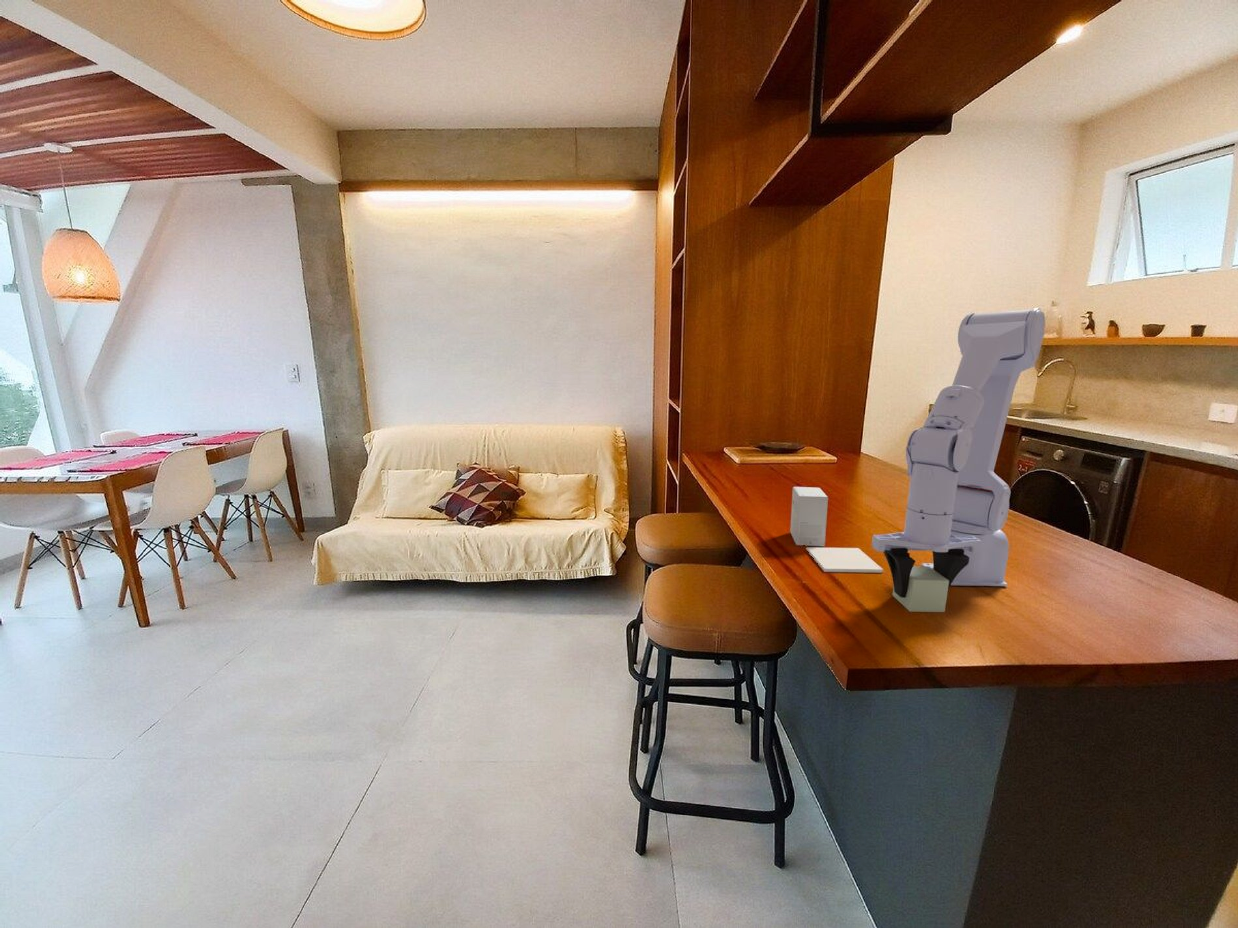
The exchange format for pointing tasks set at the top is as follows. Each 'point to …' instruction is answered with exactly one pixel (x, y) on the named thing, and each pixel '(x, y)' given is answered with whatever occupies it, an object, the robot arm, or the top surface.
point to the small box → (808, 516)
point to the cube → (925, 591)
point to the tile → (843, 560)
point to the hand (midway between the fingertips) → (918, 594)
